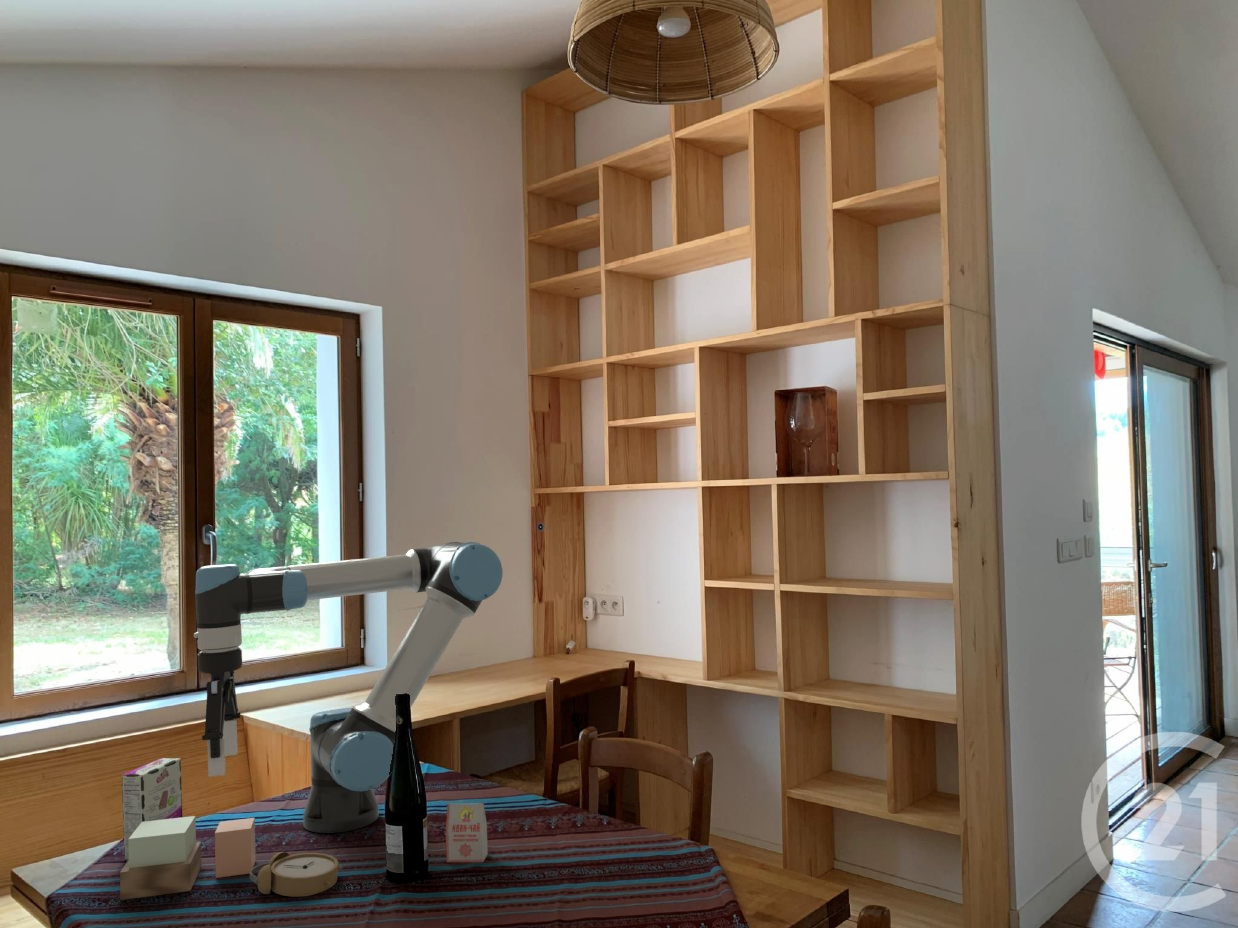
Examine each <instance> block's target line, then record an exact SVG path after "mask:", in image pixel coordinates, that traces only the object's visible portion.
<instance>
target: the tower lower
mask: <svg viewBox="0 0 1238 928" xmlns="http://www.w3.org/2000/svg"><path fill="white" fill-rule="evenodd" d="M201 869H202V841H201V840H200V841H196V844H195V846H194V848H193V849H192V851H191V853H190V855H189V856H188V858H187V860H186V861H185V862H178V863H169V864H161V865H153V866H144V867H136V868H129V860H126V862H125V865H123V867H122V868H121V870H120V872H119V891H120V892H119V899H120V900H119V901H123V900H124V901H125V900H132V899H138V898H148V897H154V896H160V895H168V894H177V893H185V892H190V891H191V890H192V888H193V886H194V884H195V882H196V879H197V878H198V875H199V873H200V871H201Z"/></svg>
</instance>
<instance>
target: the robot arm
mask: <svg viewBox="0 0 1238 928" xmlns="http://www.w3.org/2000/svg"><path fill="white" fill-rule="evenodd" d="M503 576H504V575H503V567H502V562H501V559H500V558H499V555H498V554H497V553H496V552H495V550H493V549H492V548H490V547H489V546H487V545H485V544H481V543H478V542H472V541H470V542H459V541H450V542H445V543H440V544H437V545H436V544H435V545H433V546H426V547H421V548H412V549H409V550H408V551H407V552H406V553H405V554H397V555H396V554H395V555H387V556H377V557H366V558H354V559H345V560H335V561H325V562H315V563H304V564H295V565H288V566H275V567H274V566H273V567H264V566H263V567H262V566H261V567H260V566H259V567H254V568H252V569H250V570H249V571H247V572H246V573H241V571H240V568H239V565H238V564H236V563H235V564H231V563H230V564H216V565H215V564H214V565H205V566H200V567H199V568H198V569H197V570H196V571H195V591H194V593H195V595H194V597H195V598H194V599H195V614H196V615H195V616H196V632H194V633H193V637H194V638H195V639H197V641H196V642H197V649H199V652H198V653H197V671H198V672H199V673H201V674H209V675H210V681H207V682H206V684H205V685H206V705H205V706H206V707H205V708H206V709H205V726H204V734H202V735H201V740H202V741H206V744H207V745H206V747H207V776H208V777H209V778H210V777H218V776H220V777H221V776H225V775H226V757H228V756H236V755H238V753H239V752H238V729H237V726H238V724H237V721H238V720H237V719H241V716H242V714H241V712H239V708H238V702H237V693H236V686H235V677H234V676H235V671H238V670H240V669H241V668H242V667H243V650H242V649H241V648H240V646H241V645H242V644H243V637H242V620H241V617H242V615H245V614H246V615H248V614H255V613H266V612H268V613H269V612H279V611H291V610H296V609H301V608H304V607H305V606H306V604H307V602H308V601H313V600H314V601H315V600H323V599H329V598H330V599H331V598H339V597H349V596H357V595H368V594H374V593H376V594H377V593H383V592H384V593H385V592H393V591H401V590H409V591H410V592H411V593H412V594H416V593H426V596H427V599H426V600H425V602H424V603H423V606H422V607H421V609H420V611H419V612H418V613H417V615H416V617H415V618H414V620H413V622H412V623H411V625H410V627H409V628H408V630H407V632H406V633H405V635H404V636H403V638H402V640H401V642H400V643H399V644H398V646H397V648H396V650H395V651H394V652H393V655H392V657H391V658H390V659H389V661H388V663H387V665H386V667H385V668H384V670H383V671H382V672H381V675H380V676H379V677H378V679H377V681H376V683H375V685H374V686H373V687H372V689H371V691H370V693H369V694H368V695H367V698H366V699H365V700H364V702H363V703H360V704H357V705H356V704H355V705H354V706H352V707H345V708H335V709H330V710H324V711H319V712H316V713H314V714H312V716H311V718H310V725H309V729H308V730H309V733H310V734H309V735H310V736H309V737H310V738H309V739H310V741H309V742H310V769H311V770H310V773H311V774H310V777H311V778H310V779H311V781H310V782H311V787H310V791H309V795H308V798H307V801H306V804H305V806H304V811H303V817H302V820H303V823H302V825H303V828H304V829H305V830H307V831H309V832H313V833H318V834H319V833H320V834H333V833H334V834H335V833H342V832H343V833H344V832H350V831H355V830H358V829H361V828H363V827H366V826H369V825H371V824H373V823H375V822H376V821H377V820H378V819H379V815H380V814H379V813H380V812H379V808H380V807H379V803H378V799H377V798H376V797H377V796H376V795H375V792H374V789H375V788H377V787H379V786H380V785H382V784H383V783H385V782H386V780H387V779H388V778H389V777H390V775H389V772H390V764H391V760H392V754H393V746H394V743H395V731H396V705H395V696H396V694H399V693H407V694H409V695H410V709H411V708H413V705H414V703H415V701H416V700H417V698H418V697H419V694H420V693H421V691H422V689H423V688H424V686H425V685H426V683H427V681H428V679H429V678H430V676H431V675H432V673H433V671H434V669H435V667H436V666H437V665H438V662H439V661H440V660H441V657H442V655H443V654H444V652H445V651H446V650H447V647H448V645H449V644H450V642H451V640H452V639H453V637H454V635H455V633H456V631H457V630H458V628H459V627H460V625H461V623H462V622H463V620H465V619H466V618H470V617H473V616H475V614H476V612H477V611H478V609H479V607H480V605H481V604H482V602H483V601H485V600H487V599H489V598H490V597H492V596H493V595H494V594H495V593H497V592H498V589H499V587H500V585H501V584H502V581H503V580H502V579H503Z"/></svg>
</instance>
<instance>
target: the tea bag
mask: <svg viewBox="0 0 1238 928" xmlns="http://www.w3.org/2000/svg"><path fill="white" fill-rule="evenodd" d="M446 808H447V809H446V819H445V820H446V822H445V851H446V852H445V854H446V863H484V861H486V860H485V859H486V858H487V857H488V853H489V851H488V827H487V825H488V824H487V817H486V812H485V804H484V803H483V802H482V803H481V802H477V803H476V802H475V803H474V802H472V803H471V802H470V803H469V802H466V803H465V802H463V803H457V802H456V803H453V802H451V803H447V807H446Z"/></svg>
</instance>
